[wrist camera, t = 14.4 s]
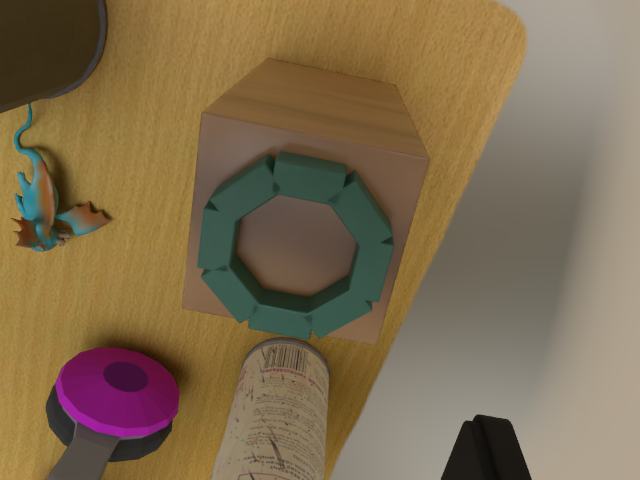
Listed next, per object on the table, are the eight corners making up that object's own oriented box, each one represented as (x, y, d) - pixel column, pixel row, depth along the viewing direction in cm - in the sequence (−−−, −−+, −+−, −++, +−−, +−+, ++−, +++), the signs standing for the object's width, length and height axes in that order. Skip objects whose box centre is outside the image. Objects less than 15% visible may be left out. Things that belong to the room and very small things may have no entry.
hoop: (217, 137, 19) (209, 146, 18) (407, 175, 19) (411, 187, 18) (198, 302, 22) (190, 318, 21) (364, 333, 22) (365, 351, 21)
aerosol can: (226, 353, 42) (135, 627, 24) (307, 325, 41) (274, 594, 23) (265, 418, 45) (208, 709, 27) (343, 393, 44) (338, 684, 25)
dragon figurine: (-60, 165, 36) (-7, 274, 36) (-28, 104, 31) (33, 229, 31) (37, 152, 41) (85, 247, 41) (77, 98, 37) (131, 205, 36)
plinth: (266, 57, 33) (201, 111, 19) (395, 84, 34) (430, 158, 19) (248, 181, 37) (181, 309, 22) (366, 205, 37) (377, 346, 22)
